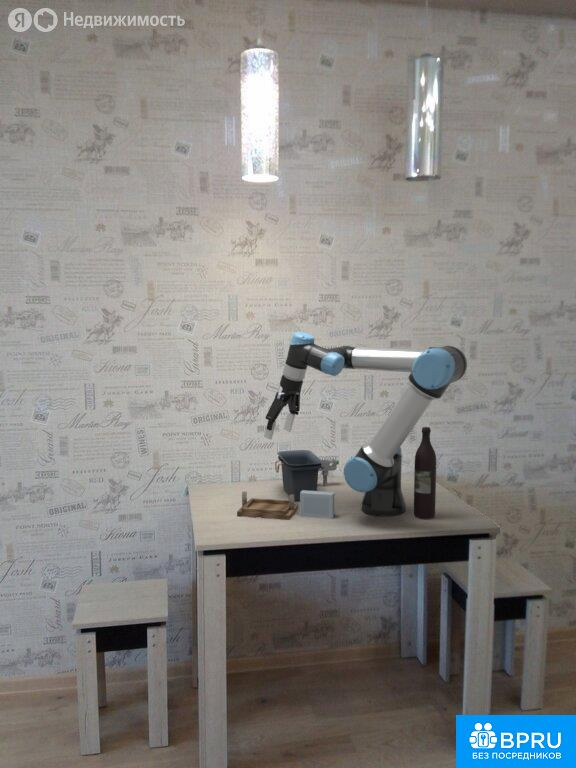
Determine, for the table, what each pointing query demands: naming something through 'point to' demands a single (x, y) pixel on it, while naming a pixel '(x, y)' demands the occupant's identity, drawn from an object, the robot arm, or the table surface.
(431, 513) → the wine bottle
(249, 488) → the table surface
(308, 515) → the pale blue rounded block
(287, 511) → the brown wooden shallow tray
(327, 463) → the mechanical component
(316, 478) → the storage bin
